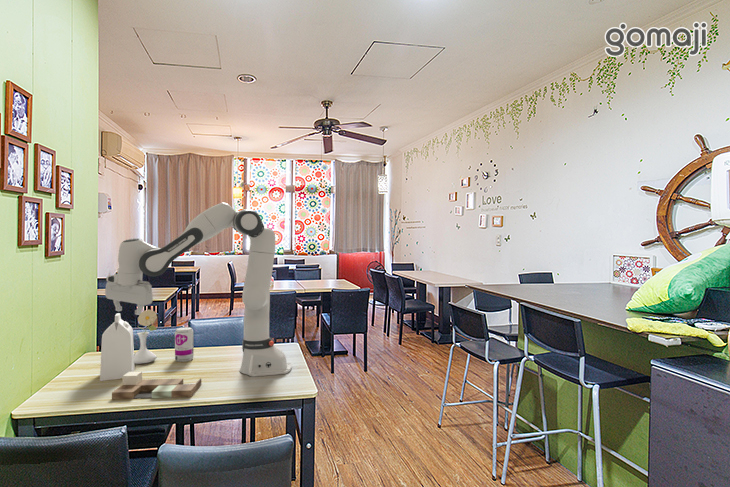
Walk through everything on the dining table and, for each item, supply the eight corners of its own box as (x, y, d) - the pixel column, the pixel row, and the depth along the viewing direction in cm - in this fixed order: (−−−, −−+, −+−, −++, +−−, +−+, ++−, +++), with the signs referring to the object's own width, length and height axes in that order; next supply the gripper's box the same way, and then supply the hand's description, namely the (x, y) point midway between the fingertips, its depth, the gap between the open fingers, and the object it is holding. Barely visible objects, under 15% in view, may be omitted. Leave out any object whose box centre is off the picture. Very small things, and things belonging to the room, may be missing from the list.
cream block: (142, 380, 166) (142, 371, 166) (136, 384, 161) (136, 375, 161) (128, 380, 165) (128, 371, 165) (122, 385, 160) (122, 376, 160)
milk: (104, 372, 183) (104, 312, 183) (134, 368, 188) (134, 311, 187) (99, 381, 172) (99, 318, 172) (131, 377, 177) (131, 315, 176)
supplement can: (187, 362, 197) (187, 330, 197) (171, 361, 198) (171, 330, 198) (196, 357, 205) (196, 327, 205) (181, 356, 207) (181, 326, 206)
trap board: (201, 384, 169) (201, 378, 169) (191, 397, 156) (191, 390, 156) (128, 386, 166) (128, 379, 166) (111, 399, 153) (111, 392, 153)
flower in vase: (123, 365, 193) (123, 311, 192) (141, 358, 204) (140, 306, 204) (148, 367, 191) (148, 312, 190) (165, 359, 202) (164, 307, 201)
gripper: (157, 281, 168) (155, 314, 170) (116, 274, 174) (114, 307, 175) (145, 283, 162) (143, 318, 163) (102, 276, 168) (101, 310, 169)
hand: (128, 312), depth 169 cm, fingers open, 8 cm apart
